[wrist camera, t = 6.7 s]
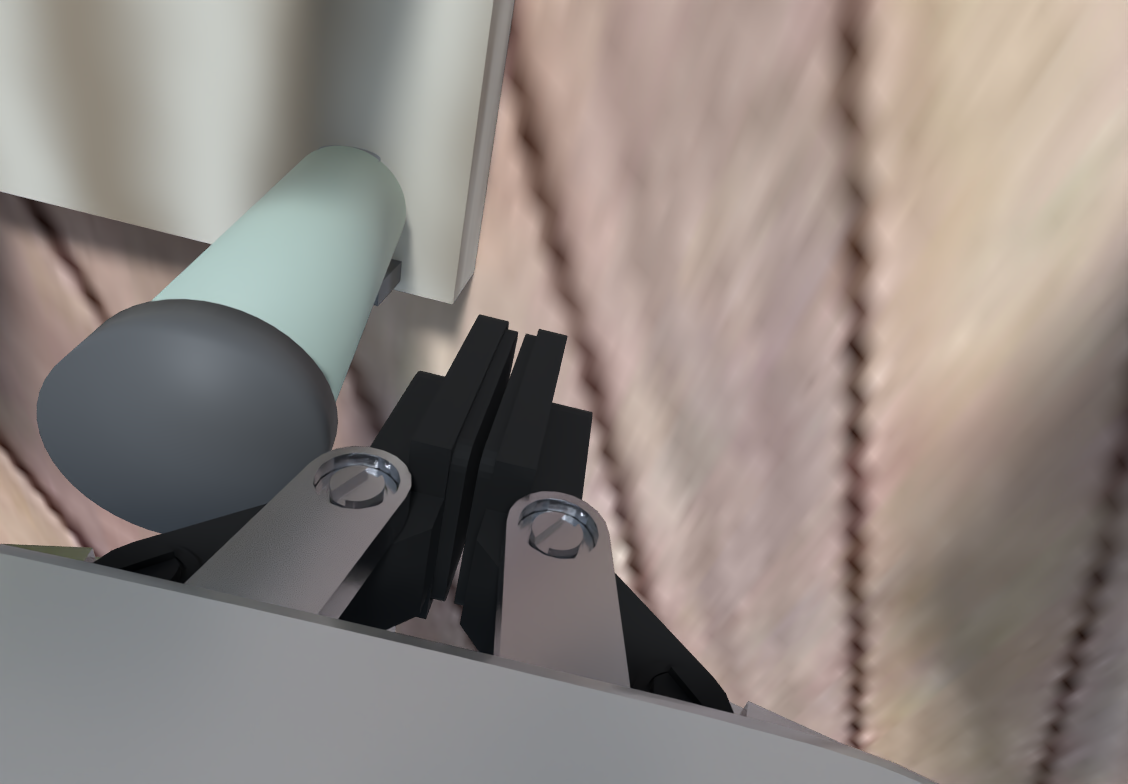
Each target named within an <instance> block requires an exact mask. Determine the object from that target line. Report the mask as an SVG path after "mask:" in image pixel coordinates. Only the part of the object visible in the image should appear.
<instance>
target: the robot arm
mask: <svg viewBox="0 0 1128 784" xmlns="http://www.w3.org/2000/svg"><path fill="white" fill-rule="evenodd" d="M508 326H509V322H508V321H504V320H500V319H496V318H492V317H488V316H484V315H480V314H479V316H478V317H477V319H476V321H475V323H474V325H473V326H472V328H471V330H470V332H469V334H468V336H467V337H466V339H465V341H464V343H463V345H462V347H461V348H460V350H459V352H458V354H457V356H456V358H455V359H454V361H453V363H452V365H451V367H450V369H449V371H448V372H447V374H446V376H445V377H444V376H440V375H436V374H432V373H427V372H423V371H418V373H417V374H416V375H415V376H414V378H413V380H412V381H411V383H410V384H409V386H408V388H407V389H406V391H405V392H404V394H403V395H402V397H401V399H400V400H399V402H398V403H397V405H396V407H395V408H394V410H393V411H392V413H391V415H390V416H389V418H388V419H387V421H386V422H385V424H384V426H383V427H382V429H381V430H380V432H379V434H378V435H377V437H376V438H375V440H374V442H373V443H372V445H371V446H370V447H359V446H351V447H345V448H338V449H335V450H332V451H329V452H327V453H324V454H322V455H320V456H319V457H317V458H316V459H314V460H313V461H312V462H310V463H309V464H308V465H307V466H306V467H305V468H304V469H303V470H302V471H301V472H300V473H299V474H298V475H297V476H296V477H295V478H294V479H292V480H291V481H290V482H289V483H288V484H287V485H286V486H285V487H284V488H283V489H282V490H281V491H280V492H279V493H278V494H277V495H276V496H275V497H274V498H273V499H272V500H271V501H270V502H269V503H266V504H263V505H260V506H256V507H253V508H249V509H246V510H242V511H239V512H235V513H232V514H229V515H225V516H222V517H218V518H215V519H211V520H208V521H204V522H201V523H198V524H194V525H191V526H187V527H184V528H180V529H177V530H173V531H170V532H167V533H163V534H160V535H156V536H153V537H149V538H146V539H142V540H139V541H136V542H132V543H130V544H127V545H125V546H122V547H120V548H117V549H114V550H112V551H110V552H109V553H107V554H106V555H104V556H102V557H95V555H94V551H93V548H84V547H62V546H39V545H16V544H0V784H938V783H936V782H934V781H932V780H930V779H928V778H926V777H923V776H921V775H919V774H917V773H915V772H913V771H911V770H909V769H907V768H905V767H903V766H900V765H898V764H896V763H894V762H891V761H888V760H886V759H883V758H880V757H878V756H875V755H872V754H870V753H867V752H864V751H862V750H859V749H856V748H853V747H851V746H848V745H845V744H842V743H840V742H838V741H835V740H833V739H831V738H829V737H827V736H824V735H822V734H820V733H818V732H816V731H813V730H811V729H809V728H807V727H805V726H802V725H800V724H798V723H796V722H794V721H791V720H789V719H787V718H785V717H783V716H780V715H778V714H776V713H774V712H772V711H769V710H767V709H765V708H763V707H761V706H758V705H756V704H754V703H752V702H750V701H748V702H747V704H746V705H745V707H744V708H742V707H740V706H738V705H735V704H733V703H731V702H729V700H728V698H727V695H726V693H725V692H724V691H723V689H722V688H721V687H720V685H719V684H718V683H717V681H716V680H715V679H714V677H713V676H712V675H711V674H710V673H709V672H708V671H707V670H706V669H705V668H704V667H703V666H702V665H701V664H700V663H699V661H698V660H697V659H696V658H695V657H694V656H693V655H692V654H691V653H690V652H689V651H688V650H687V649H686V648H685V647H684V646H683V644H682V643H681V642H680V641H679V640H678V639H677V638H676V637H675V636H674V635H673V634H672V633H671V632H670V631H669V630H668V629H667V628H666V626H665V625H664V624H663V623H662V622H661V621H660V620H659V619H658V618H657V617H656V616H655V615H654V614H653V613H652V612H651V611H650V610H649V608H648V607H647V606H646V605H645V604H644V603H643V602H642V601H641V600H640V599H639V598H638V597H637V596H636V595H635V594H634V593H633V591H632V590H631V589H630V588H629V587H628V586H627V585H626V584H625V583H624V582H623V581H622V580H621V579H620V578H619V577H618V576H617V575H616V573H615V572H614V564H613V557H612V550H611V542H610V535H609V531H608V528H607V525H606V522H605V521H604V519H603V518H602V517H601V515H600V514H599V513H598V511H597V510H595V509H594V508H593V507H592V506H590V505H589V504H588V503H586V502H585V501H583V500H582V495H583V487H584V479H585V471H586V463H587V455H588V447H589V439H590V431H591V423H592V414H593V413H592V412H589V411H585V410H581V409H577V408H573V407H568V406H564V405H560V404H556V403H552V401H553V396H554V392H555V388H556V383H557V379H558V375H559V371H560V366H561V362H562V358H563V353H564V349H565V345H566V341H567V336H566V335H562V334H558V333H554V332H550V331H546V330H541V329H539V331H538V334H537V336H533V335H529V334H526V335H525V337H524V340H523V343H522V346H521V348H520V351H519V354H518V357H517V359H516V362H515V365H514V368H513V370H512V373H511V368H512V363H513V358H514V353H515V348H516V343H517V337H518V332H517V331H513V330H509V329H508ZM510 373H511V376H510ZM509 378H510V379H509ZM464 545H465V546H464ZM463 548H464V551H463ZM462 551H463V557H462V562H461V568H460V573H459V579H458V584H457V590H456V595H455V601H454V604H459V605H463V611H462V616H461V621H460V625H461V626H462V628H463V629H464V631H465V632H466V634H467V635H468V636H469V638H470V639H471V641H472V642H473V644H474V645H475V647H476V648H477V651H472V650H468V649H464V648H459V647H455V646H451V645H447V644H442V643H438V642H434V641H430V640H425V639H421V638H417V637H412V636H408V635H404V634H400V633H395V628H396V625H398V624H400V623H403V622H405V621H407V620H409V619H411V618H414V617H419V618H423V619H426V618H427V615H428V612H429V609H430V607H431V604H432V601H433V599H437V600H441V601H445V600H446V598H447V595H448V592H449V589H450V586H451V583H452V580H453V577H454V574H455V571H456V568H457V565H458V562H459V559H460V557H461V554H462Z"/></svg>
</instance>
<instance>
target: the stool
mask: <svg viewBox="0 0 1128 784" xmlns="http://www.w3.org/2000/svg"><path fill="white" fill-rule="evenodd" d="M514 1H515V0H0V192H4V193H8V194H12V195H16V196H20V197H24V198H28V199H32V200H36V201H40V202H44V203H48V204H52V205H56V206H60V207H64V208H68V209H72V210H76V211H80V212H84V213H88V214H92V215H96V216H100V217H105V218H109V219H113V220H117V221H121V222H125V223H129V224H133V225H137V226H141V227H145V228H149V229H153V230H157V231H161V232H165V233H169V234H173V235H177V236H181V237H185V238H189V239H193V240H197V241H201V242H205V243H209V244H213V243H214V242H215V241H216V240H217V239H218V238H219V237H220V236H221V235H222V234H223V233H224V232H226V231H227V230H228V229H229V228H230V227H231V226H232V225H233V224H234V223H235V222H236V221H237V220H238V219H239V218H240V217H242V216H243V215H244V214H245V213H246V212H247V211H248V210H249V209H250V208H251V207H252V206H253V205H254V204H255V203H256V202H258V201H259V200H260V199H261V198H262V197H263V196H264V195H265V194H266V193H267V192H268V191H269V190H270V189H271V188H272V187H274V186H275V185H276V184H277V183H278V182H279V181H280V180H281V179H282V178H283V177H284V176H285V175H286V174H287V173H288V172H290V171H291V170H292V169H293V168H294V167H295V166H296V165H297V164H298V163H299V162H300V161H301V160H302V159H303V158H305V157H306V156H307V155H308V154H310V153H311V152H313V151H315V150H318V149H319V148H320V147H323V146H329V145H341V146H350V147H356V148H360V149H364V150H367V151H370V152H373V153H375V154H377V155H378V156H379V157H380V158H381V162H382V163H383V164H384V165H386V166H387V168H388V169H389V170H390V171H391V172H392V173H393V175H394V176H395V178H396V179H397V181H398V183H399V184H400V186H401V189H402V191H403V194H404V198H405V203H406V218H405V224H404V227H403V230H402V232H401V235H400V238H399V240H398V243H397V245H396V248H395V251H394V253H393V256H392V258H391V261H390V263H389V266H388V269H387V271H386V274H385V276H384V279H383V281H382V284H381V287H380V289H379V292H378V294H377V297H376V300H375V302H374V305H376V306H378V305H379V304H380V303H381V302H382V301H383V300H384V299H385V298H386V296H387V295H388V294H389V293H390V292H391V291H392V290H397V291H401V292H405V293H409V294H413V295H417V296H421V297H425V298H429V299H433V300H437V301H441V302H445V303H449V304H453V303H454V302H455V300H456V299H457V297H458V296H459V294H460V293H461V291H462V290H463V288H464V287H465V285H466V284H467V282H468V281H469V279H470V278H471V276H472V275H473V273H474V269H475V263H476V256H477V249H478V243H479V236H480V229H481V222H482V216H483V209H484V202H485V196H486V189H487V182H488V176H489V169H490V162H491V155H492V149H493V142H494V135H495V129H496V122H497V115H498V109H499V102H500V95H501V88H502V82H503V75H504V68H505V62H506V55H507V48H508V42H509V35H510V28H511V21H512V15H513V8H514Z"/></svg>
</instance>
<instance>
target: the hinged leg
mask: <svg viewBox="0 0 1128 784" xmlns="http://www.w3.org/2000/svg"><path fill="white" fill-rule="evenodd" d="M405 218H406V203H405V198H404V194H403V191H402V189H401V186H400V184H399V183H398V181H397V179H396V178H395V176H394V175H393V173H392V172H391V171H390V170H389V169H388V168H387V166H386V165H384V164H383V163H382V162H381V158H380V157H379V156H378V155H377V154H375V153H373V152H370V151H367V150H364V149H360V148H356V147H350V146H341V145H329V146H323V147H320V148H319V149H318V150H315V151H313V152H311V153H310V154H308V155H307V156H306V157H305V158H303V159H302V160H301V161H300V162H299V163H298V164H297V165H296V166H295V167H294V168H293V169H292V170H291V171H290V172H288V173H287V174H286V175H285V176H284V177H283V178H282V179H281V180H280V181H279V182H278V183H277V184H276V185H275V186H274V187H272V188H271V189H270V190H269V191H268V192H267V193H266V194H265V195H264V196H263V197H262V198H261V199H260V200H259V201H258V202H256V203H255V204H254V205H253V206H252V207H251V208H250V209H249V210H248V211H247V212H246V213H245V214H244V215H243V216H242V217H240V218H239V219H238V220H237V221H236V222H235V223H234V224H233V225H232V226H231V227H230V228H229V229H228V230H227V231H226V232H224V233H223V234H222V235H221V236H220V237H219V238H218V239H217V240H216V241H215V242H214V243H213V244H212V245H211V246H210V247H208V248H207V249H206V250H205V251H204V252H203V253H202V254H201V255H200V256H199V257H198V258H197V259H196V260H195V261H194V262H192V263H191V264H190V265H189V266H188V267H187V268H186V269H185V270H184V271H183V272H182V273H181V274H180V275H179V276H177V277H176V278H175V279H174V280H173V281H172V282H171V283H170V284H169V285H168V286H167V287H166V288H165V289H164V290H163V291H161V292H160V293H159V294H158V295H157V296H156V297H155V298H154V299H153V300H152V301H150V302H146V303H143V304H139V305H135V306H132V307H130V308H128V309H125V310H123V311H121V312H119V313H117V314H116V315H114V316H113V317H111V318H109V319H108V320H106V321H105V322H104V323H103V324H102V325H101V326H100V327H98V328H97V329H96V330H95V331H94V332H93V333H92V334H90V335H89V336H88V337H87V338H86V339H85V340H84V341H83V342H81V343H80V344H79V345H78V346H77V347H76V348H75V349H73V350H72V351H71V352H70V353H69V354H68V355H67V356H65V357H64V358H63V359H62V360H61V361H60V362H59V363H58V364H57V365H56V366H55V367H54V368H53V369H52V370H51V372H50V373H49V375H48V376H47V377H46V379H45V381H44V383H43V385H42V387H41V390H40V392H39V397H38V402H37V422H38V428H39V433H40V436H41V438H42V441H43V444H44V446H45V448H46V450H47V452H48V454H49V455H50V457H51V459H52V461H53V462H54V463H55V465H56V466H57V468H58V469H59V470H60V472H61V473H62V474H63V475H64V476H65V477H66V478H67V479H68V480H69V482H70V483H71V484H72V485H73V486H74V487H76V488H77V489H78V490H79V491H80V492H81V493H83V494H84V495H85V496H86V497H87V498H89V499H90V500H92V501H93V502H94V503H96V504H97V505H99V506H100V507H102V508H103V509H105V510H107V511H109V512H110V513H112V514H114V515H115V516H117V517H120V518H122V519H124V520H126V521H128V522H130V523H132V524H135V525H137V526H140V527H143V528H145V529H148V530H151V531H155V532H158V533H162V534H163V533H167V532H170V531H173V530H177V529H180V528H184V527H187V526H191V525H194V524H198V523H201V522H204V521H208V520H211V519H215V518H218V517H222V516H225V515H229V514H232V513H235V512H239V511H242V510H246V509H249V508H253V507H256V506H260V505H263V504H266V503H269V502H270V501H271V500H272V499H273V498H274V497H275V496H276V495H277V494H278V493H279V492H280V491H281V490H282V489H283V488H284V487H285V486H286V485H287V484H288V483H289V482H290V481H291V480H292V479H294V478H295V477H296V476H297V475H298V474H299V473H300V472H301V471H302V470H303V469H304V468H305V467H306V466H307V465H308V464H309V463H310V462H312V461H313V460H314V459H316V458H317V457H319V456H320V455H322V454H324V453H327V452H329V451H331V450H332V447H333V444H334V441H335V437H336V434H337V425H338V417H337V407H336V400H337V398H338V395H339V392H340V390H341V387H342V385H343V382H344V380H345V377H346V374H347V372H348V369H349V367H350V364H351V361H352V359H353V356H354V354H355V351H356V349H357V346H358V343H359V341H360V338H361V336H362V333H363V331H364V328H365V325H366V323H367V320H368V318H369V315H370V312H371V310H372V307H373V305H374V302H375V300H376V297H377V294H378V292H379V289H380V287H381V284H382V281H383V279H384V276H385V274H386V271H387V269H388V266H389V263H390V261H391V258H392V256H393V253H394V251H395V248H396V245H397V243H398V240H399V238H400V235H401V232H402V230H403V227H404V224H405Z"/></svg>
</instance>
